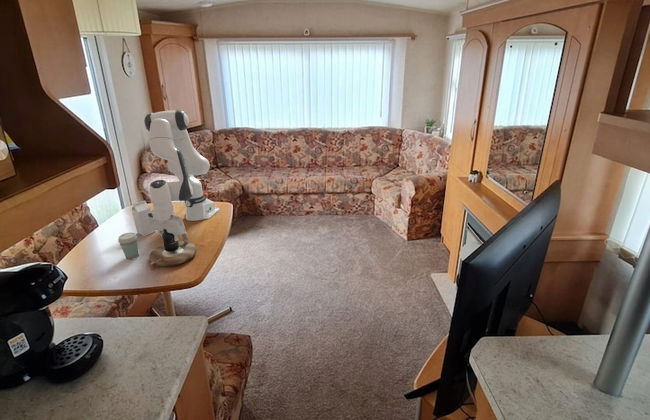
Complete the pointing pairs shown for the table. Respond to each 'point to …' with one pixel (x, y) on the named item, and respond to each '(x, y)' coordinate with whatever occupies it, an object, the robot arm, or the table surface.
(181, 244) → the turntable
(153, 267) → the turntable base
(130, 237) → the coffee cup
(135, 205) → the milk carton
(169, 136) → the robot arm
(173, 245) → the supplement bottle
